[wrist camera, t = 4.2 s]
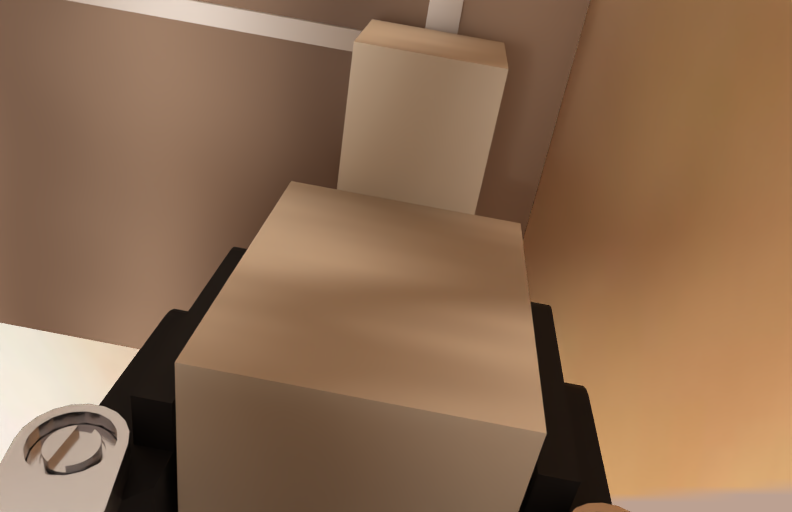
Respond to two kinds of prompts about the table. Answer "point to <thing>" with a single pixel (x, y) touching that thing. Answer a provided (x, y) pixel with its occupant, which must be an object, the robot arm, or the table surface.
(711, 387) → the table surface
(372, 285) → the stacked wooden blocks
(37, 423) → the robot arm
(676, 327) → the table surface
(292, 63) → the board
